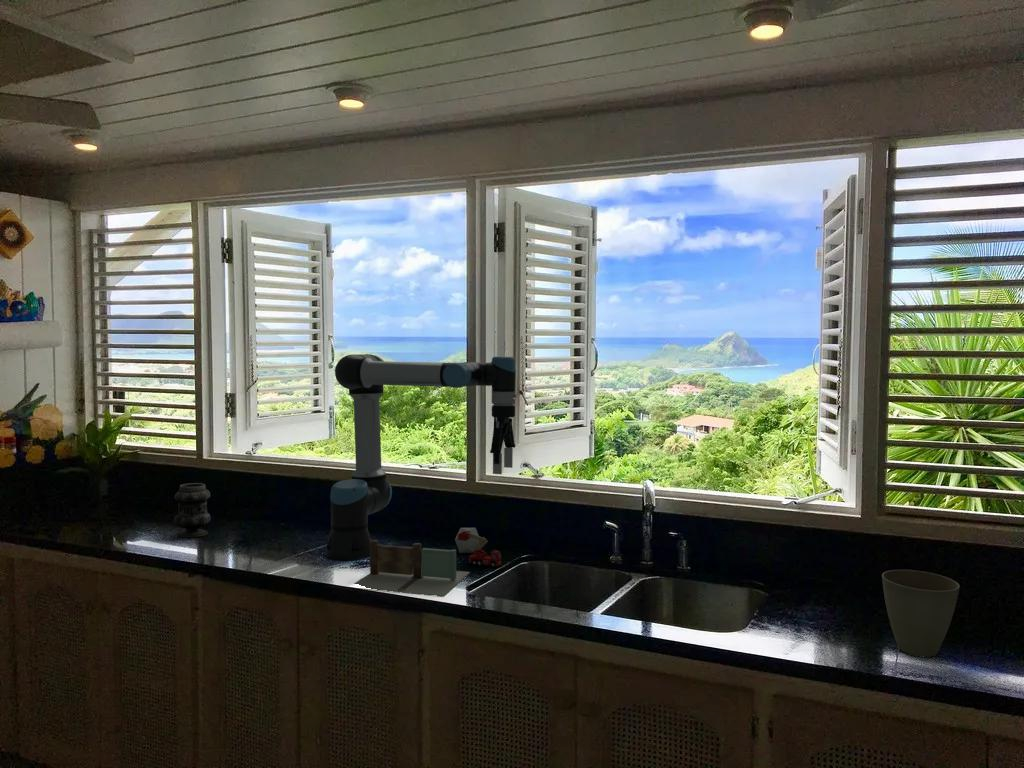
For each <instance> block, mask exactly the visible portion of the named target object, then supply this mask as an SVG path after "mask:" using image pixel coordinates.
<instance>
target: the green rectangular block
mask: <svg viewBox="0 0 1024 768" xmlns="http://www.w3.org/2000/svg"><path fill="white" fill-rule="evenodd" d="M421 552H422V576H427V577H439V578H450V580H453V581H454V580H455V579H456V571H457V549H440V548H431V547H429V548H427V547H423V548H422V549H421Z"/></svg>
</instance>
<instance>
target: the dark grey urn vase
mask: <svg viewBox="0 0 1024 768" xmlns="http://www.w3.org/2000/svg"><path fill="white" fill-rule="evenodd" d="M210 498H211V492H210V491H209V490H208V489H207V487H206V484H205V483H202V482H200V483H199V482H193V483H192V482H190V483H189V482H188V483H183V484H180V485H179V489H178V491H177V492H176V493H175V494H174V500H175V501H176V502H177V503H178V505H177V506H178V507H177V508H178V509H177V514H176V515H175V517H174V519H173V522H174V524H175V525H176V526H178V527H179V528H183V529H185V530H183V531H182V532H179V533H178V534H177V537H179V538H182V539H183V538H184V539H192V538H199V537H203V536H206V535H208V534H209V533H208V530H205V529H202V528H201V527H203V526H206V525H207V524H208V523H210V522H211V514H210V513H209V512H208V500H209V499H210Z"/></svg>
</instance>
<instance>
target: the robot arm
mask: <svg viewBox="0 0 1024 768" xmlns="http://www.w3.org/2000/svg"><path fill="white" fill-rule="evenodd" d="M516 373H517V370H516V360H515V358H514V357H513V356H493V357H492V358H491V362H480V361H479V362H477V361H475V362H474V361H473V362H472V361H464V362H462V361H461V362H435V361H433V362H431V361H429V362H428V361H389V360H387V361H385V360H384V359H383V358H381V357H380V356H377V355H375V354H372V353H371V354H369V353H364V354H357V353H356V354H347V355H345V356H343V357H341V358H340V359H339V360H338V362H337V364H336V366H335V368H334V376H335V379H336V381H337V382H338V384H339V385H340V386H341V387H343V388H344V389H347V390H348V395H349V396H350V397H351V398H352V399H353V417H354V419H353V420H354V421H353V422H354V424H353V425H354V449H355V450H354V451H355V453H354V454H355V470H354V471H353V472H352V473H351V478H350V479H348V478H347V479H346V480H340V481H337V482H336V483H334V484H332V487H331V489H330V496H329V497H330V498H329V499H330V533H329V536H328V539H327V543H326V546H325V557H326V558H328V559H331V560H336V561H338V560H339V561H352V560H362V559H365V558H367V557H370V541H371V540H372V538H371V536H370V535H371V534H370V533H369V530H368V529H369V527H368V522H369V518H368V516H370V515H372V514H375V513H378V512H380V511H381V510H383V509H384V508H385V507H387V506H388V504H389V503H390V502H391V499H392V495H393V490H392V489H393V488H392V485H391V484H390V481H388V479H387V472H386V471H385V470H384V469H383V468H382V447H381V446H382V445H381V444H382V443H381V440H382V439H381V415H380V414H381V413H380V412H381V411H380V409H381V408H380V407H381V405H380V399H381V398H382V396H383V395H384V390H385V389H384V386H406V387H407V386H408V387H409V386H411V387H412V386H413V387H440V388H441V387H444V388H445V387H446V388H454V389H460V388H461V389H462V388H466V387H479V386H480V387H481V386H484V387H487V386H488V387H490V386H491V404H492V406H491V416H492V417H493V418H496V419H497V420H496V421H493V433H492V439H491V448H490V450H489V453H490V454H492V475H502V474H503V473H502V472H503V468H507V469H508V468H511V469H513V464H514V462H513V459H514V458H513V455H514V454H513V450H514V448H516V443H515V436H514V429H513V418H514V417H515V416H516V406H515V405H514V404H516V399H517V397H518V396H517V394H516ZM503 444H504V447H503ZM502 448H503V453H502Z"/></svg>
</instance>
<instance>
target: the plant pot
mask: <svg viewBox="0 0 1024 768" xmlns="http://www.w3.org/2000/svg"><path fill="white" fill-rule="evenodd" d="M881 579H882V587H883V589H882V591H883V594H884V602H885V606H886V607H885V608H886V610H887V616H888V620H889V624H890V627H891V630H892V633H893V637H894V639H895V643H896V644H897V647H898V649H899V651H901V650H902V651H901V652H903V653H904V652H906V653H905V654H907V653H908V654H907V655H909V654H911V655H910V656H913V655H917V656H924V657H923V658H932V657H931V656H933V657H935V656H936V655H937V654H938V652H939V651H940V649H941V646H942V644H943V642H944V640H945V637H946V635H947V632H948V630H949V628H950V625H951V622H952V620H953V615H954V612H955V609H956V606H957V601H958V597H959V591H960V587H961V586H960V583H958V582H957V581H955V580H953V579H952V578H949V577H948V576H943V575H942V574H937V573H934V572H928V571H923V570H922V571H921V570H914V569H892V570H887V571H884V572H883V573H882V574H881ZM917 656H916V657H917Z"/></svg>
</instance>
